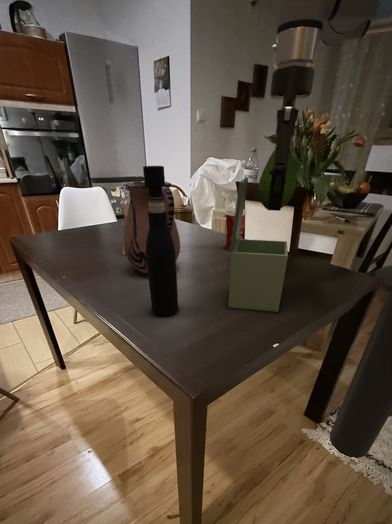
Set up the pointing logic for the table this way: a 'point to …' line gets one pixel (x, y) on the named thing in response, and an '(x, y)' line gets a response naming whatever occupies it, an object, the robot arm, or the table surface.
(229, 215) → the paper cup
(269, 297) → the bin
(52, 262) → the table surface
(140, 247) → the ceramic pitcher
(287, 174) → the avocado
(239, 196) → the bin lid
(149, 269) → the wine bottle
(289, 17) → the robot arm
